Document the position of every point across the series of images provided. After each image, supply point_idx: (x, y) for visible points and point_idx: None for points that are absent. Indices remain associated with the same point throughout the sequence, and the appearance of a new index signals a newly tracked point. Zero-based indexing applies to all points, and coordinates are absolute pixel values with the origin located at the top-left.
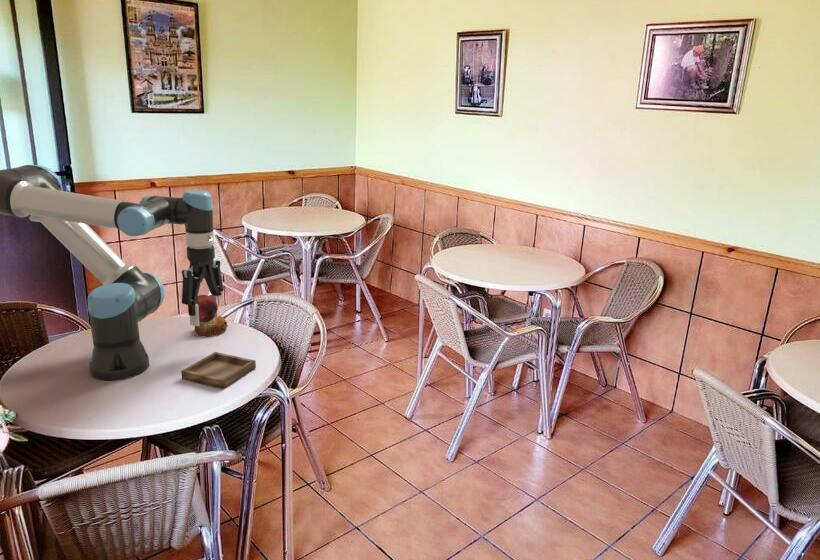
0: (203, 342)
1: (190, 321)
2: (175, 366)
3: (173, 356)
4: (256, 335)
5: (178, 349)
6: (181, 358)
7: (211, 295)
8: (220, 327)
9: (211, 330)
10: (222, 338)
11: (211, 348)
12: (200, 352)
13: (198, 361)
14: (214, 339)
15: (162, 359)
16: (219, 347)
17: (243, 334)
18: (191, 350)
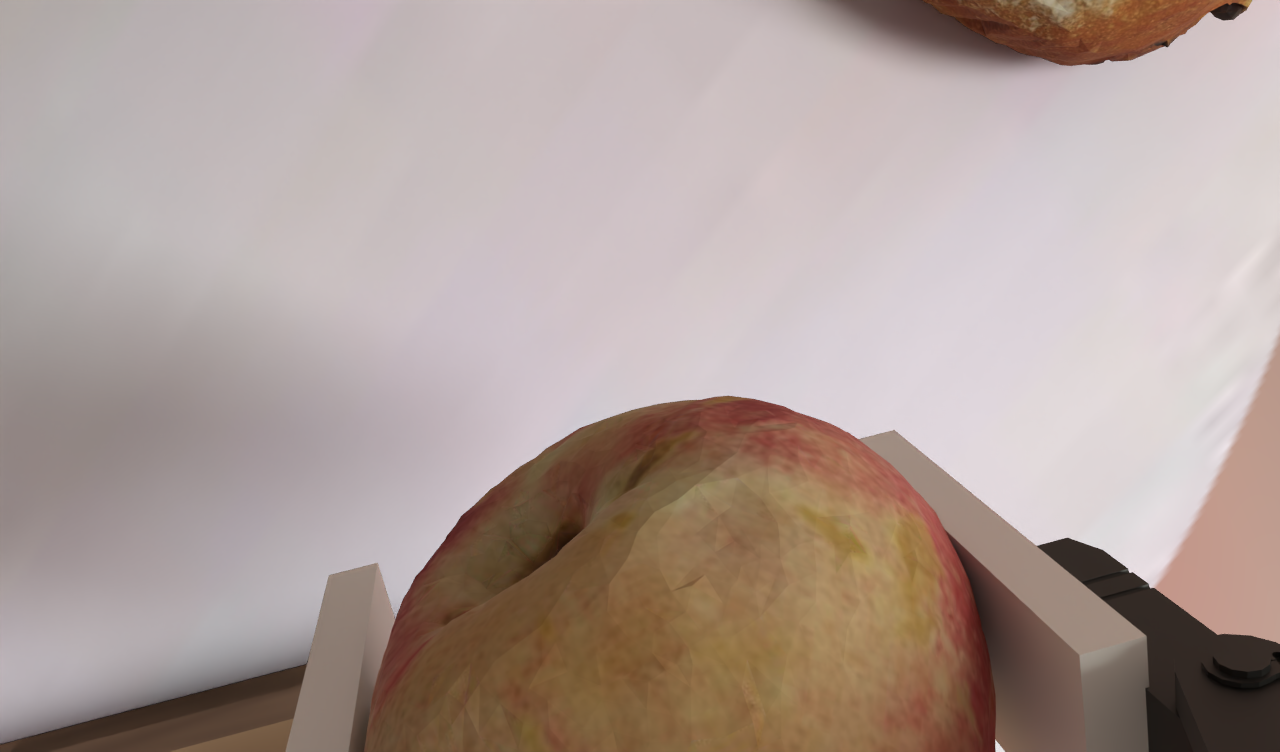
0: (746, 100)
1: (323, 619)
2: (101, 435)
3: (242, 171)
4: (1204, 415)
5: (412, 30)
6: (278, 299)
7: (1111, 708)
8: (1092, 58)
9: (975, 13)
10: (955, 185)
11: (682, 329)
12: (531, 326)
13: (223, 740)
14: (884, 132)
15: (91, 139)
16: (754, 375)
17: (1161, 281)
18: (499, 192)
